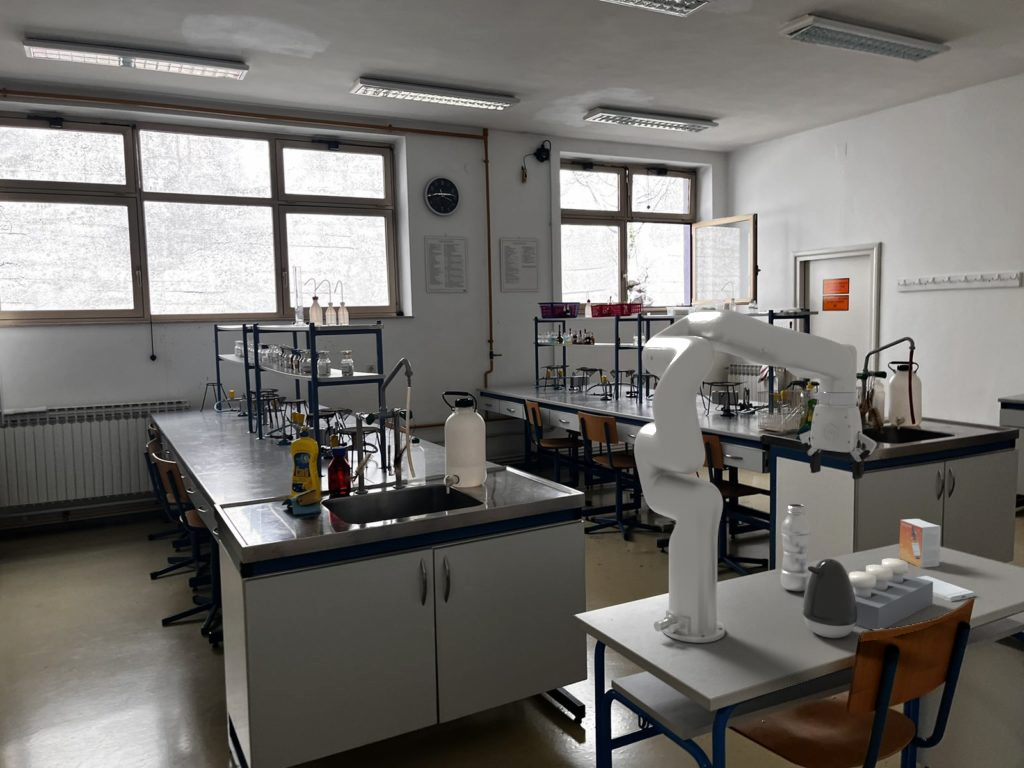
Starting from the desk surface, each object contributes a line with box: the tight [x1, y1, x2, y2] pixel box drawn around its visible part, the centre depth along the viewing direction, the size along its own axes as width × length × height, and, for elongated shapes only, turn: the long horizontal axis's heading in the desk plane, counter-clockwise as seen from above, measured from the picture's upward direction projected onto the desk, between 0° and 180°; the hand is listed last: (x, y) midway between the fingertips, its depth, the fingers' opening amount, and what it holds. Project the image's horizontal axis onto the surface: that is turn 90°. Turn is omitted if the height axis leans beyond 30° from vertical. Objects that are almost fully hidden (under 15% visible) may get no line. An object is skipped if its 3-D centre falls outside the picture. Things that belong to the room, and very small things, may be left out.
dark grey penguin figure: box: [801, 558, 857, 639], centre depth 151 cm, size 10×10×15 cm
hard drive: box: [916, 575, 977, 602], centre depth 175 cm, size 2×8×12 cm
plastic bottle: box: [779, 503, 812, 592], centre depth 175 cm, size 6×7×20 cm
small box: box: [898, 518, 942, 569], centre depth 194 cm, size 8×6×10 cm
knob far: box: [881, 557, 909, 584], centre depth 168 cm, size 5×5×6 cm
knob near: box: [848, 570, 876, 599], centre depth 159 cm, size 5×5×6 cm
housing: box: [852, 573, 934, 630], centre depth 164 cm, size 24×12×5 cm, turn 128°
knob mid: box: [865, 564, 893, 592], centre depth 163 cm, size 5×5×6 cm
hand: (836, 475), depth 170 cm, fingers open, 9 cm apart
